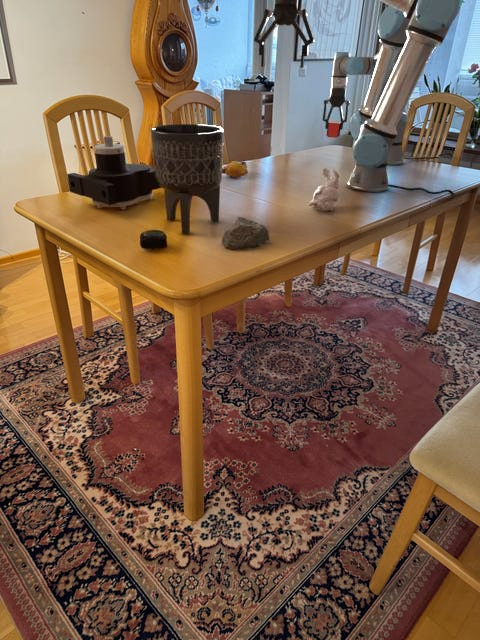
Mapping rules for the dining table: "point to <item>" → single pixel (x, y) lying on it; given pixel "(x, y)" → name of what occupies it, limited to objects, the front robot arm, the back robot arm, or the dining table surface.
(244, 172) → the toy
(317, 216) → the dining table surface
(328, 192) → the figurine
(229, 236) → the rock
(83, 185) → the mechanical component
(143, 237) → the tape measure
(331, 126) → the brick
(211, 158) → the planter
